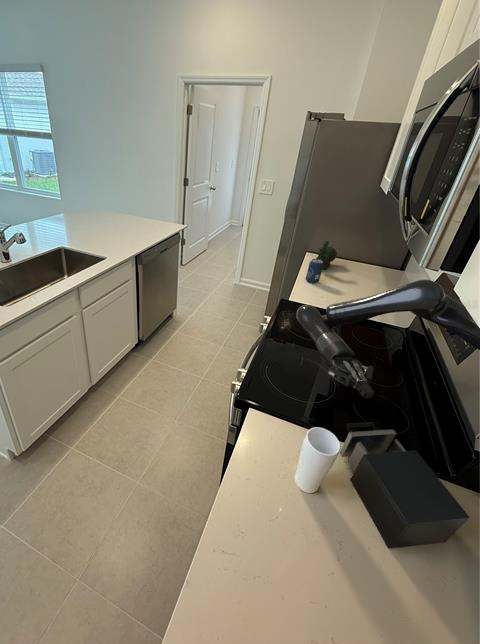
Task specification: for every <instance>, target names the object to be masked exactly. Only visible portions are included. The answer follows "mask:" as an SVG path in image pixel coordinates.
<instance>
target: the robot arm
mask: <svg viewBox="0 0 480 644" xmlns="http://www.w3.org/2000/svg"><path fill="white" fill-rule="evenodd" d="M463 305H464V304H462V303H461V302H459V301H457V300H455V299H454V298H452V297H450V296H449V295H447V294H446V293H445V291H444V288H443V286H442V285H440V284H439V283H438V282H436V281H434V280H431V279H419V280H415V281H412V282H409V283H407V284H404V285H401V286H398V287H395V288H393V289H390V290H385V291H383V292H380V293H377V294H372V295H370V296H364V297H362V298H361V297H360V298H357V299H351V300H347V301H341V302H337V303H332V304H329V305H327V306H326V309H325V314H324V315H322V314H321V313H320V311H319V310H318V309H317V308H316V307H315V306H314V305H311V304H304V305H301V306H299V308H298V309H297V310H296V313H295V318H296V320H297V322H298V323H299V325H300V327H301V329H302V330H303V332H305V333H306V334H307V335H308V336H309V338H310V340H311V342H312V343H313V345H314V346H315V348H316V349H317V351H318V353H319V354H320V356H321V357H322V358H323V360H324V361H325V362H326V364H327V365H328V367H329V369H328V371H327V377H329V378H331V379H333V380H335V381H336V382H338V383H340V384H342V385H343V386H346V387H351V386H352V387H353V388H355V389H356V390H357V392H358V393H359V395H360V396H362V397H363V398H364V399H366V400H367V399H372V398H373V396H374V393H375V390H374V389H373V388H372V387H371V385H370V383H371V381H372V379H373V374H374V366H373V365H368V366H366V365H363V363H362V362H361V361H359V360H358V359H357V357H356V355H355V351H353V350H352V348H351V347H350V346H349V345H348V344H347V343H346V341H345V340H344V339H343V338H342V337H341V336H340V335H338V333H336V331H335V330H334V329H333V328H335V327H338V326H343V325H350V324H355V323H359V322H364V321H368V320H369V319H372V318H376V317H379V316H383V315H386V314H394V313H401V312H402V313H403V312H410V313H411V314H413V315H415V316H417V317H418V318H419V317H420V318H422V319H424V320H426V321H429V322H431V323H433V324H435V325H437V326H440V327H441V328H444V329H445V330H447V331H449V332H451V333H453V334H455V335H456V336H458V337H459V338H461V340H463V341H464V342H466V343H467V344H469V345H471V346H472V347H474V348H475V349H477V350H478V351H480V328H479V327H478V326H477V325H476V323H475V322H474V320H473V319H472V317H471V316H470V315H469V313H468V312H467V310H466V309H465V307H464V306H465V305H464V306H463Z"/></svg>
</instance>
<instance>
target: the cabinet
mask: <svg viewBox="0 0 480 644" xmlns="http://www.w3.org/2000/svg"><path fill="white" fill-rule="evenodd" d="M349 480H350V482H351V484H352V486H353V488H354V490H355V491H356V493H357V495H358V497H359V498H360V501H361V502H362V504H363V507H364V508H365V509H366V511H367V514H368V515H369V517H370V519H371V520H372V522H373V524H374V526H375V528H376V530H377V531H378V533H379V535H380V537H381V539H382V540H383V542H384V544H385V546H386V547H387V550H389V549H398V548H407V547H417V546H425V545H434V544H443V543H447V542H448V541H449V540H450V538H451V537H452V536H453V535H454V534H456V532H457V531H458V530H459V529H460V528H461V527H462V526H463V525H464V524H465V523H466V522H467V521H468V520H469V519H470V516H469V515H468V513H467V512H466V511H465V509H464V508H463V507H462V506H461V504H460V502H458V501H457V499H456V498H455V497H454V495H452V493H451V492H450V491H449V489H447V487H446V486H445V485H444V484H443V482H442V481H441V480H440V479H439V477H438V476H437V474H435V472H434V471H433V470H432V469H431V467H430V466H429V464H427V461H425V460H424V459H423V458H422V456H421V455H420V453H419V452H418V451H417V450H415V449H414V450H406V451H401V452H388V453H387V452H385V453H374V454H363V457H362V458H361V460H360V462H359V464H358V466H357V467H356V469H355V471H354V470H353V473H352V475H351V477H350V478H349Z"/></svg>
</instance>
